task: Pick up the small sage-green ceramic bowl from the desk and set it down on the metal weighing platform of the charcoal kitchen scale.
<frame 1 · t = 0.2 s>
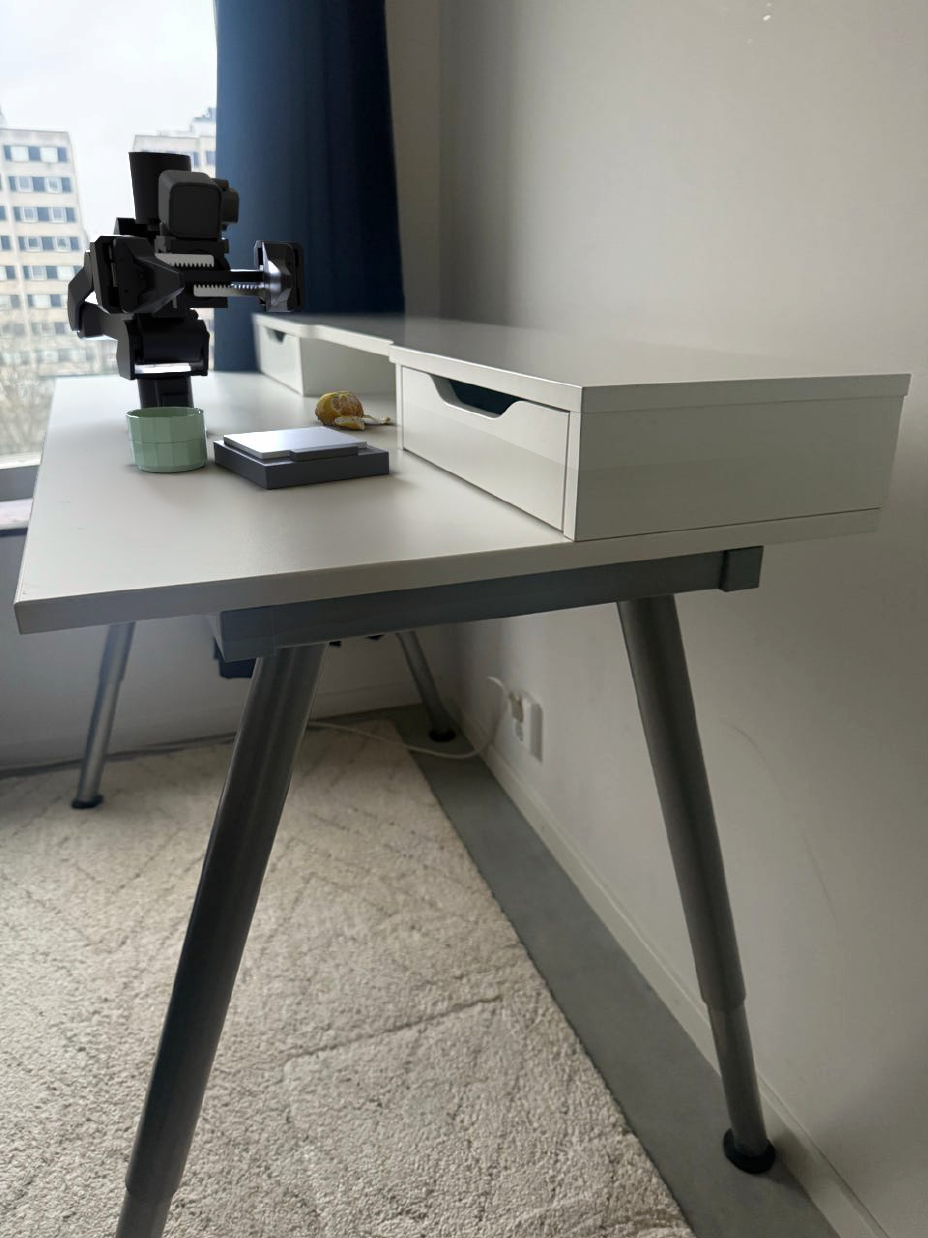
hand: (237, 280, 71), 16 cm above the table, tool horizontal, fingers open, 9 cm apart
bowl: (171, 465, 81), on the table
scale: (300, 467, 81), on the table
fruit: (349, 426, 104), on the table
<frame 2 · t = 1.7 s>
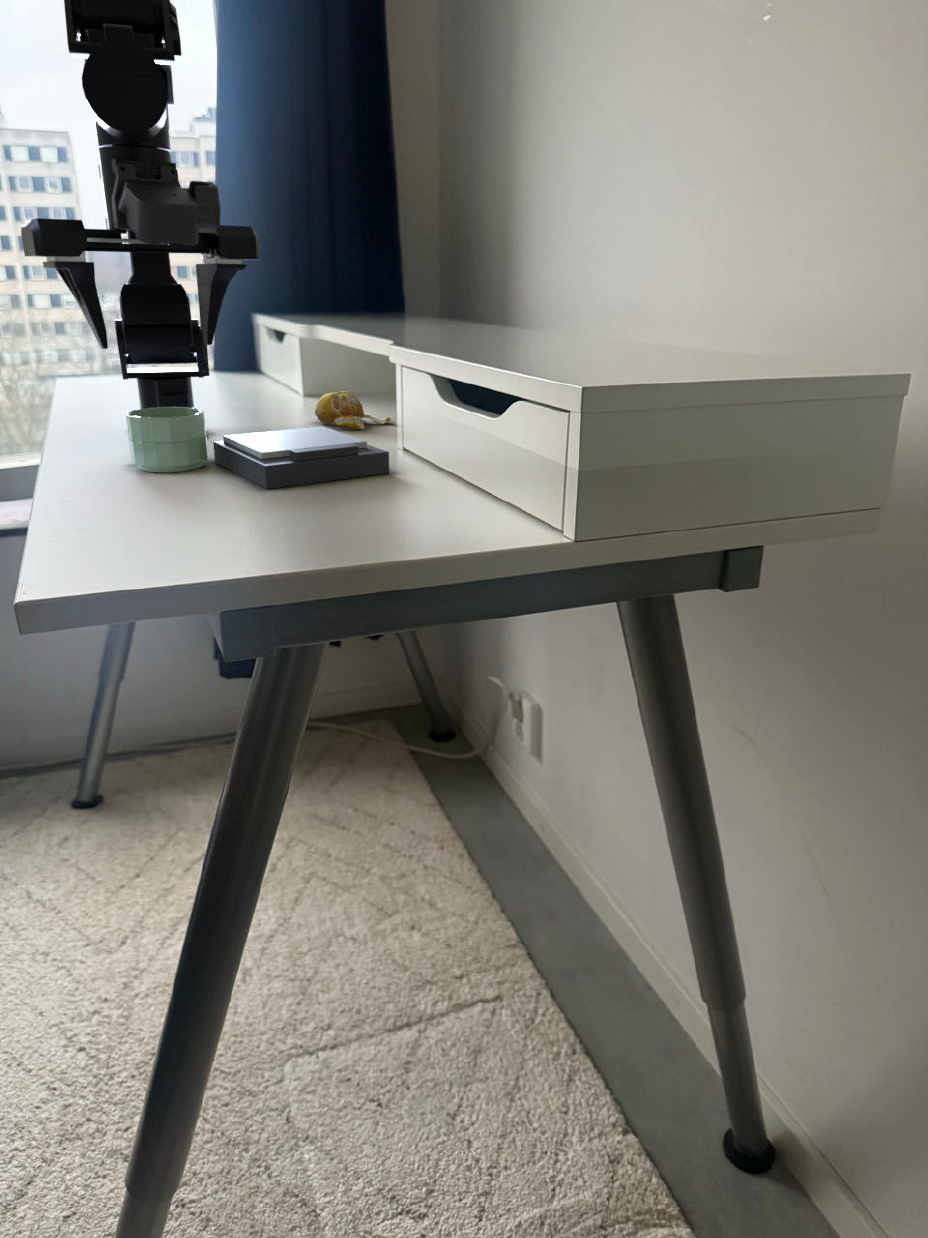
hand: (157, 346, 77), 11 cm above the table, tool pointing down, fingers open, 9 cm apart
nothing on the table moved.
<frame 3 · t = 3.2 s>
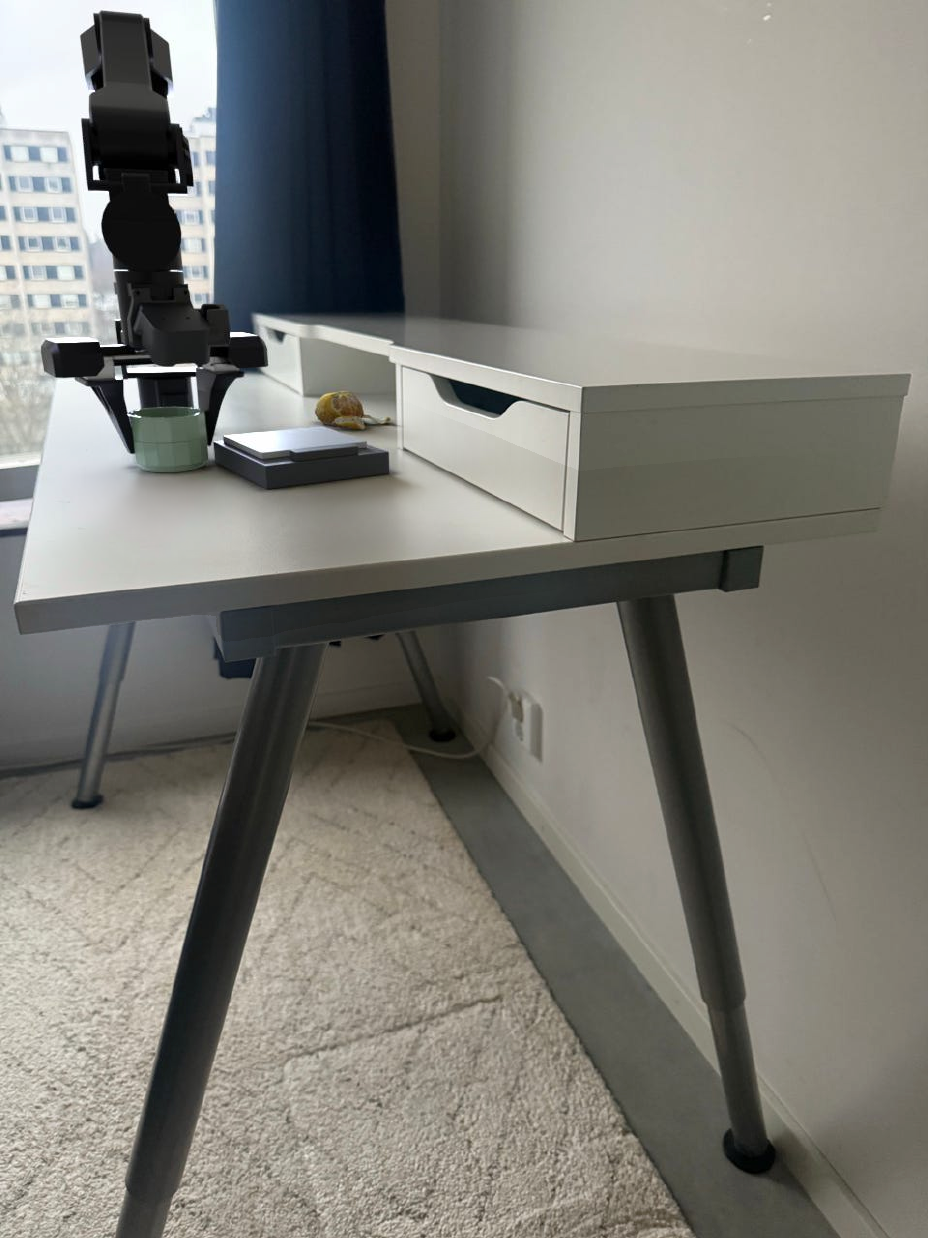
hand: (170, 449, 81), 2 cm above the table, tool pointing down, fingers closed on bowl, 7 cm apart
bowl: (172, 465, 81), on the table, touching gripper
everything else where it was.
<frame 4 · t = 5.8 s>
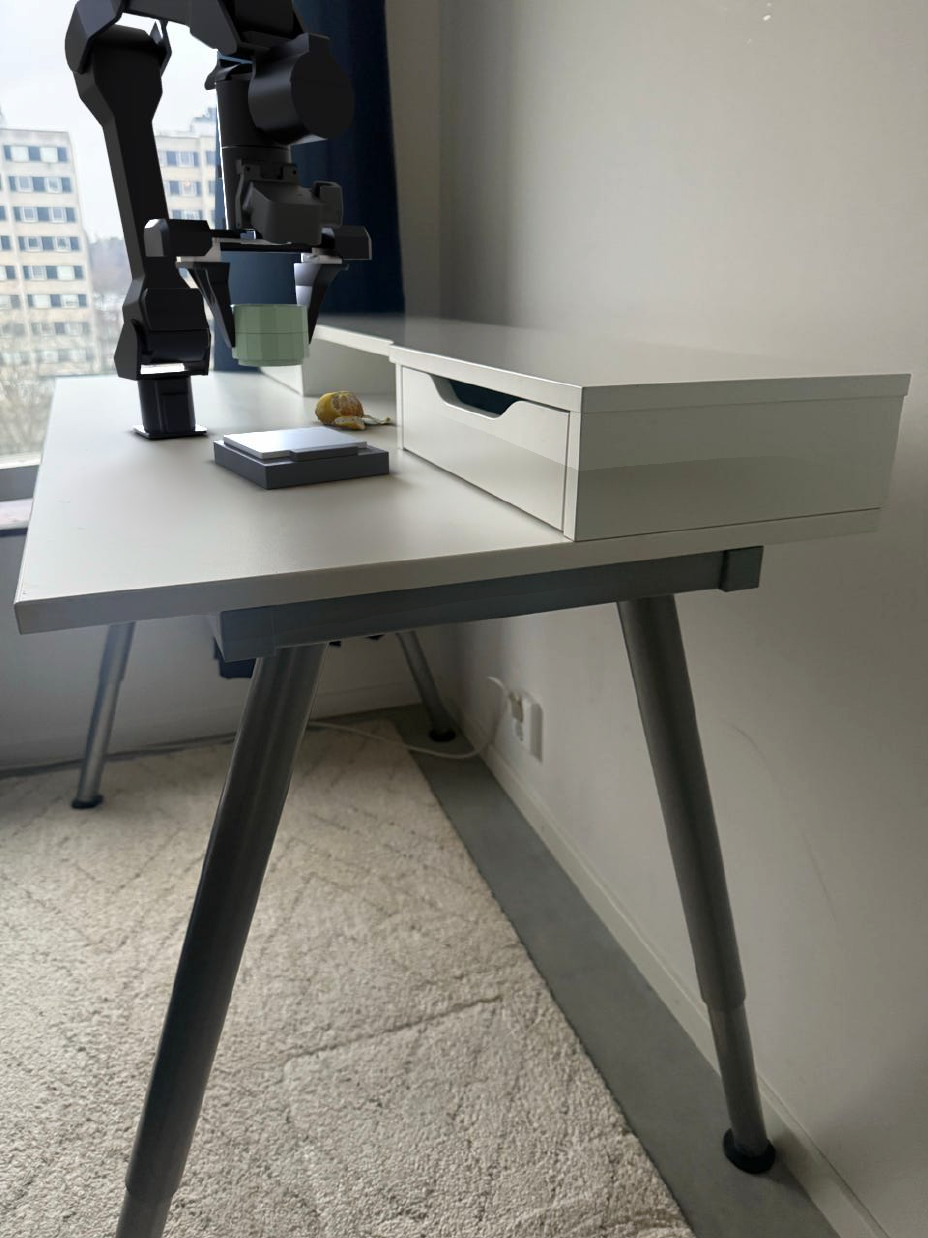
hand: (269, 345, 78), 11 cm above the table, tool pointing down, fingers closed on bowl, 7 cm apart
bowl: (271, 363, 78), point 9 cm above the table, touching gripper
everything else where it was.
when the fingers open (4 cm above the table, at t = 8.1 s): bowl stays where it is, resting on scale.
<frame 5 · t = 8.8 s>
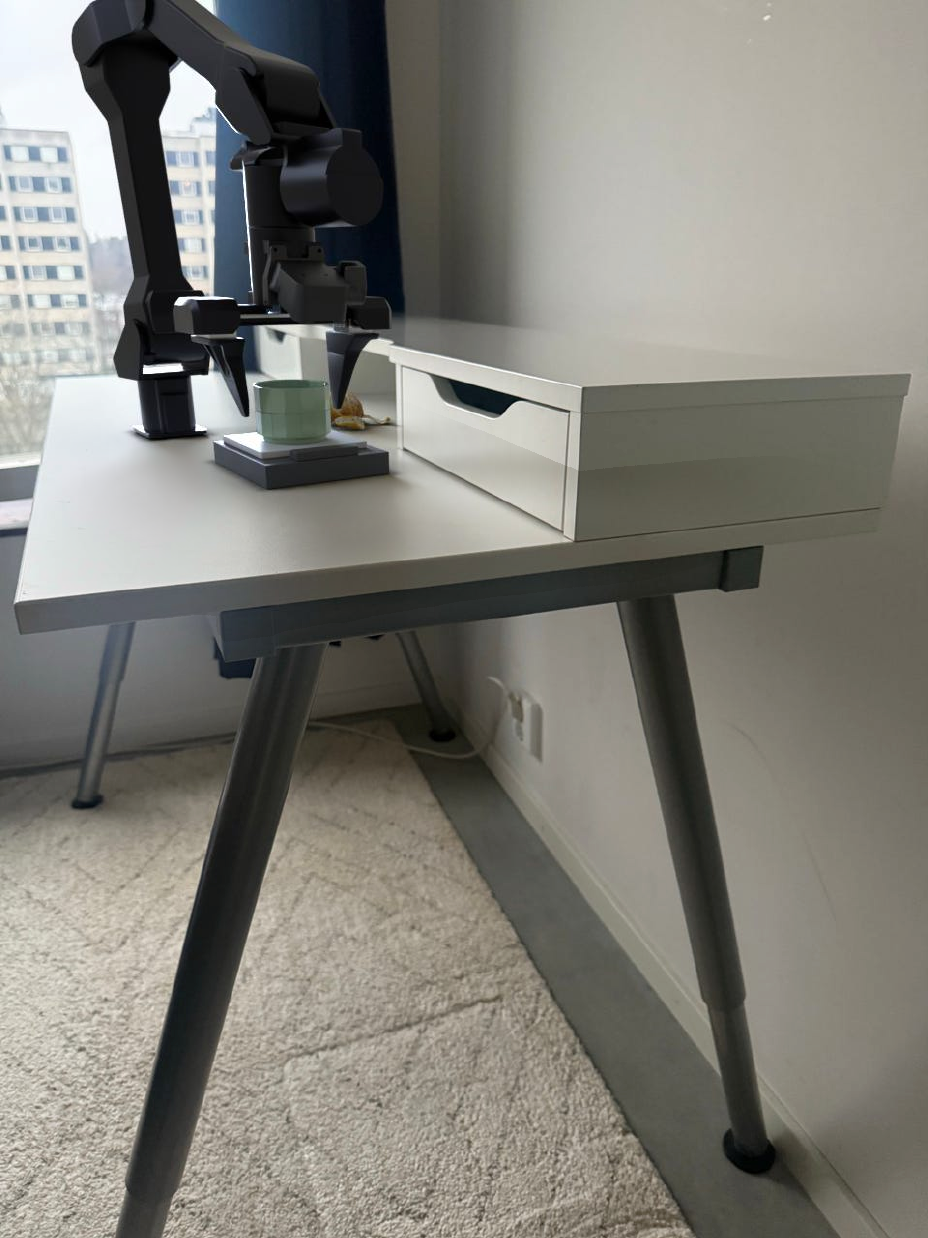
hand: (292, 412, 80), 5 cm above the table, tool pointing down, fingers open, 9 cm apart
bowl: (294, 438, 81), point 3 cm above the table, touching scale
everything else where it was.
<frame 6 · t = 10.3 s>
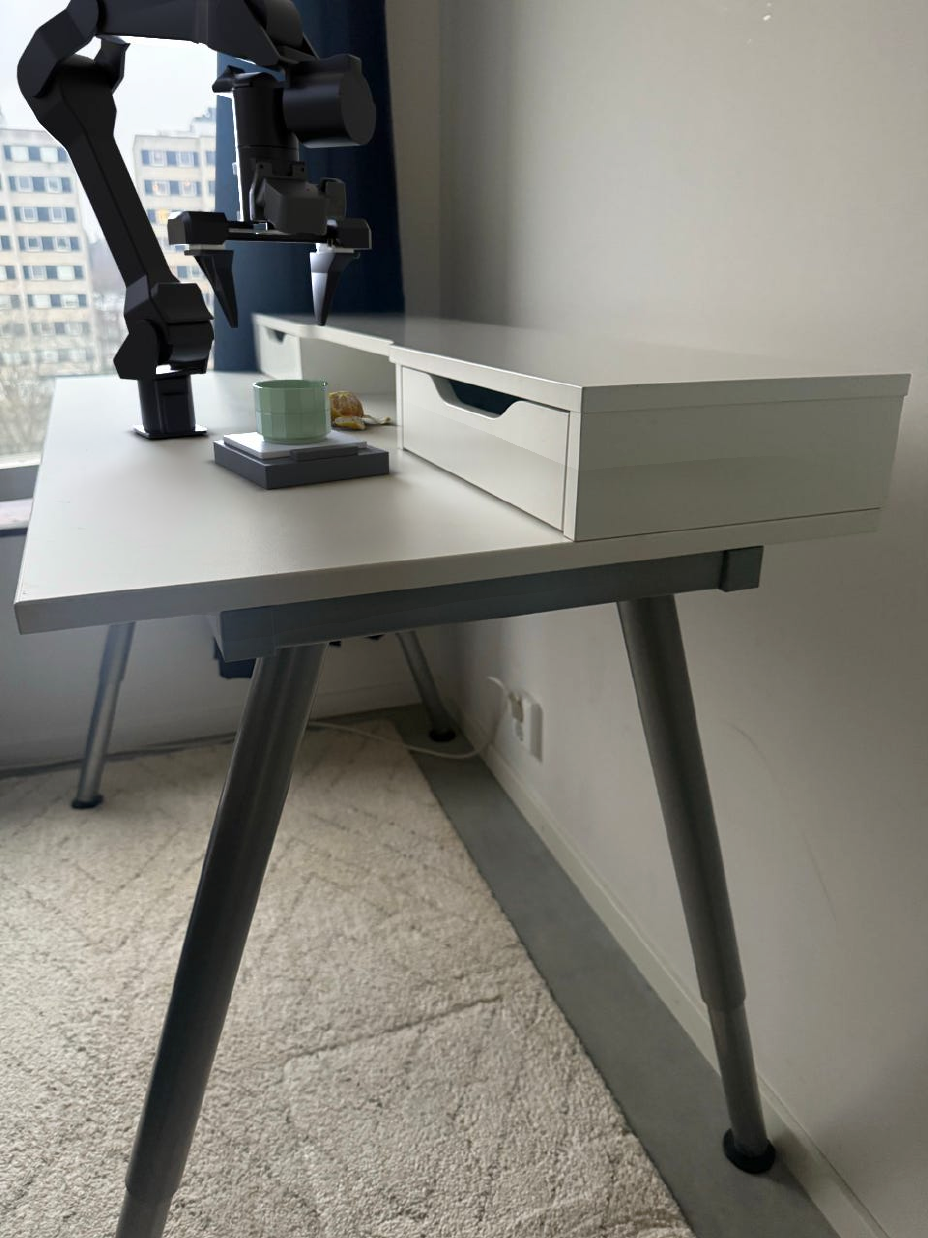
hand: (279, 326, 86), 12 cm above the table, tool pointing down, fingers open, 9 cm apart
nothing on the table moved.
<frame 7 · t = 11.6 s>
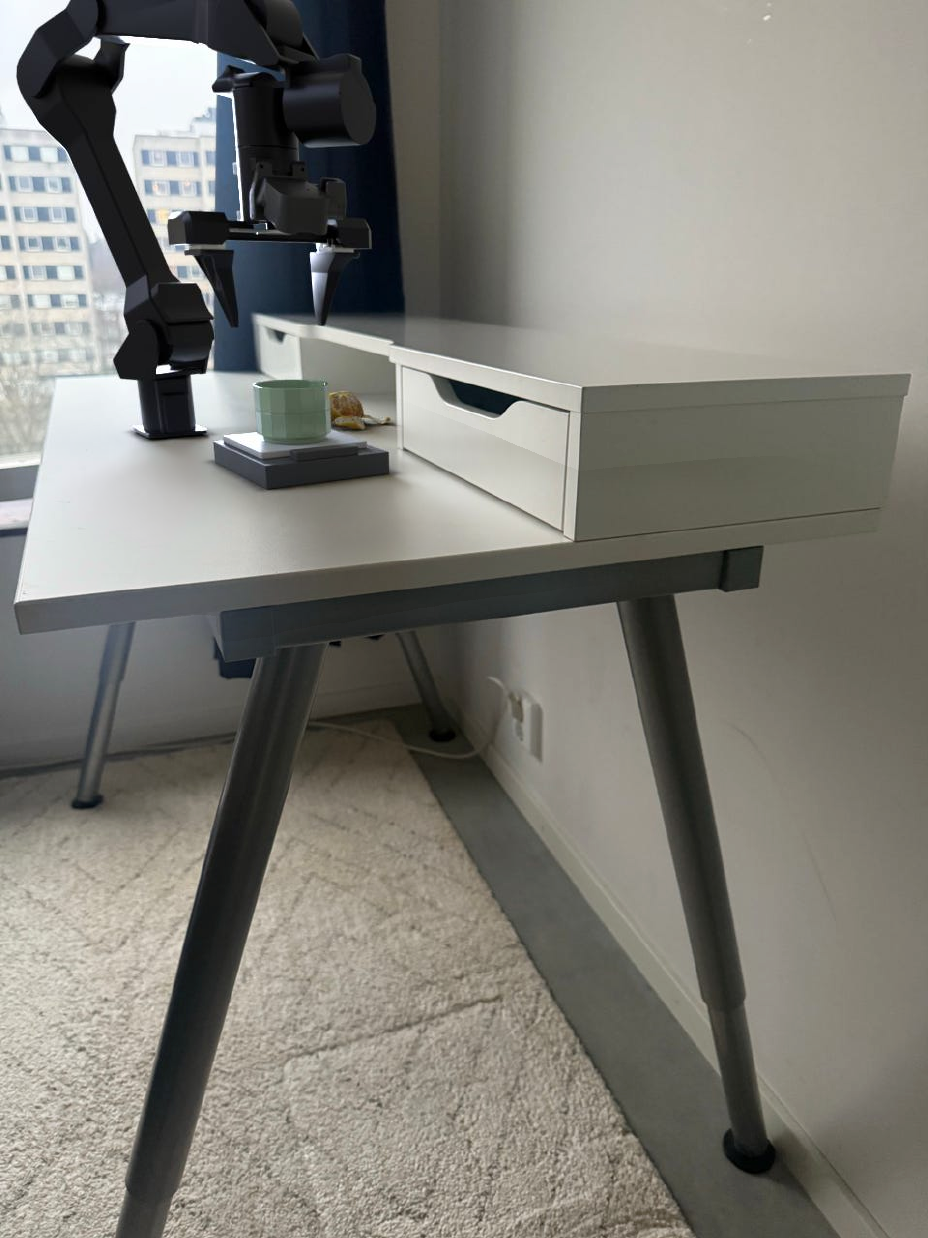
hand: (279, 326, 86), 12 cm above the table, tool pointing down, fingers open, 9 cm apart
nothing on the table moved.
at the end: bowl inside the target area on the scale (0.1 cm from its centre), point 2.6 cm above the scale's base; bowl tilted 0°; the gripper is holding nothing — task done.
